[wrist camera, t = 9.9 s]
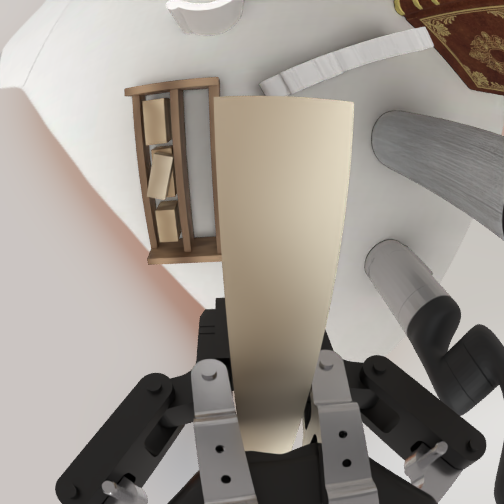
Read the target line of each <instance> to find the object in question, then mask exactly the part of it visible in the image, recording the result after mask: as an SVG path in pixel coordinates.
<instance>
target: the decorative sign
mask: <svg viewBox="0 0 504 504" xmlns="http://www.w3.org/2000/svg"><path fill="white" fill-rule="evenodd" d="M433 46H434V44H433V42H432V40H431V38H430V35H429V33H428V31H427V29H426V27H420V28H414V29H409V30H405V31H401V32H397V33H393V34H389V35H385V36H381V37H378V38H374V39H371V40H368V41H364V42H361V43H358V44H355V45H352V46H349V47H346V48H343V49H340V50H337V51H334V52H330V53H328V54H325V55H322V56H320V57H317V58H314V59H312V60H309V61H307V62H304V63H302V64H300V65H297V66H295V67H292V68H290V69H288V70H286V71H283V72H281V73H279V74H277V75H275V76H273V77H271V78H269V79H267V80H264V81H262V82H261V83H260V84H259V85H260V87H261V89H262V90H263V92H264V94H265V96H287V95H289V94H294V93H296V92H298V91H300V90H303V89H305V88H307V87H310V86H312V85H314V84H317V83H319V82H322V81H324V80H327V79H329V78H332V77H334V76H337V75H340V74H342V73H344V72H345V71H348V70H351V69H353V68H356V67H359V66H362V65H365V64H368V63H372V62H375V61H379V60H383V59H387V58H390V57H394V56H398V55H403V54H407V53H412V52H416V51H421V50H425V49H426V48H431V47H433Z"/></svg>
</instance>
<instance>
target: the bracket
mask: <svg viewBox="0 0 504 504" xmlns="http://www.w3.org/2000/svg"><path fill="white" fill-rule="evenodd" d="M243 3H244V0H217V1H213V2H209V3H202V4H197V3H189V2H185V1H183V0H170V1H168V2H167V3H166V7H167V8H168V10H169V11H170V13H171V14H172V16H173V17H174V19H175V20H176V22H177V23H178V25H179V26H180V28H181V29H182V31H183V32H184V33H185V34H191V33H194V34H197V35H202V36H213V35H218V34H221V33H224V32H226V31H228V30H230V29H231V28H232V27H234V26H235V25H236V23H237V22H238V21H239V19H240V17H241V14H242V9H243Z"/></svg>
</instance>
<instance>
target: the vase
mask: <svg viewBox="0 0 504 504" xmlns="http://www.w3.org/2000/svg"><path fill="white" fill-rule="evenodd" d="M372 147H373V150H374V153H375V155H376V157H377V158H378V160H379V161H380V162H381V163H382V164H384V165H385V166H387V167H388V168H390V169H392V170H394V171H396V172H398V173H400V174H402V175H403V176H405V177H407V178H409V179H411V180H413V181H414V182H416V183H418V184H420V185H421V186H423V187H425V188H427V189H428V190H430V191H432V192H433V193H435V194H437V195H438V196H440V197H442V198H443V199H445V200H446V201H448V202H450V203H451V204H453V205H454V206H456V207H457V208H459V209H460V210H462V211H463V212H465V213H466V214H468V215H469V216H471V217H472V218H474V219H475V220H477V221H478V222H479V223H481V224H482V225H484V226H485V227H486V228H488V229H489V230H491V231H492V232H493V233H495V234H496V235H497V236H498V237H500V238H501V239H502V240H504V136H502V135H499V134H496V133H493V132H490V131H486V130H483V129H480V128H476V127H473V126H469V125H465V124H461V123H457V122H453V121H449V120H445V119H440V118H436V117H431V116H426V115H421V114H415V113H410V112H403V111H390V112H387V113H385V114H384V115H382V116H381V117H380V118H379V119H378V120H377V122H376V124H375V126H374V128H373V132H372Z"/></svg>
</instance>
